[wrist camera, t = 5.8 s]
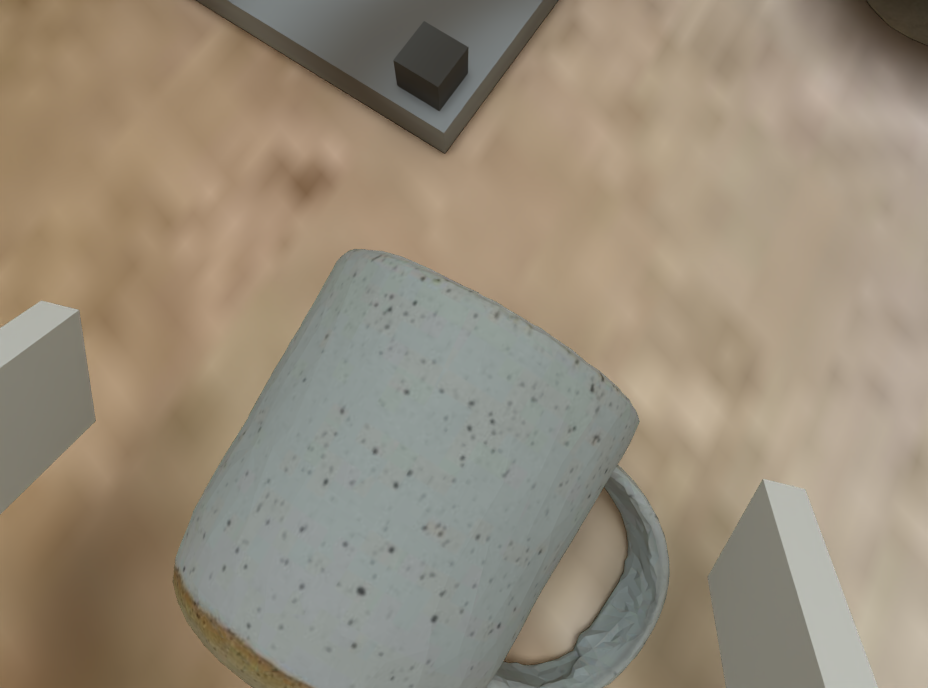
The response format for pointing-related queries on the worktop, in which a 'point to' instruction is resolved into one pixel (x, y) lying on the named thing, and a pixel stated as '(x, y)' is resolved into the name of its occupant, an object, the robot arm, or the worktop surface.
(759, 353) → the worktop surface
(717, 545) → the worktop surface
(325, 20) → the shelf
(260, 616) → the ceramic mug
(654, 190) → the worktop surface
